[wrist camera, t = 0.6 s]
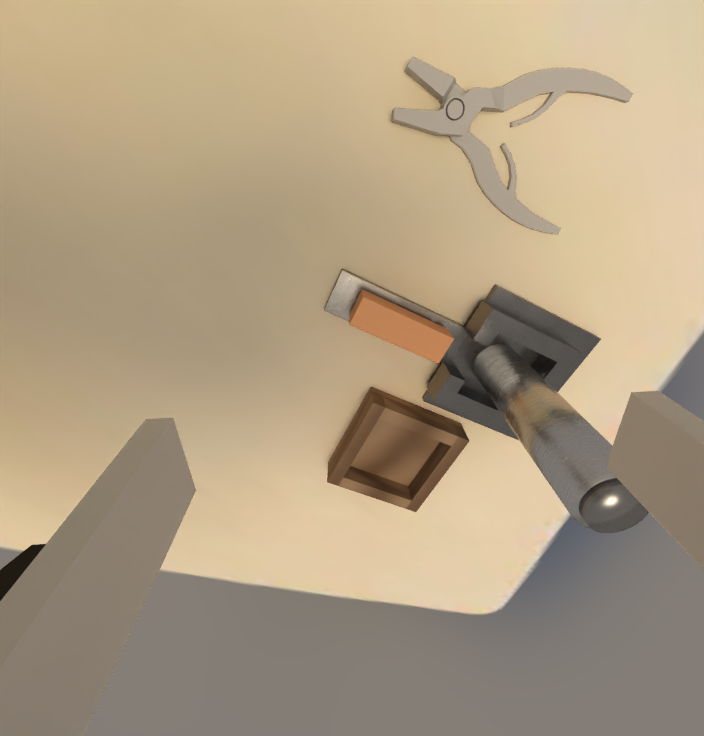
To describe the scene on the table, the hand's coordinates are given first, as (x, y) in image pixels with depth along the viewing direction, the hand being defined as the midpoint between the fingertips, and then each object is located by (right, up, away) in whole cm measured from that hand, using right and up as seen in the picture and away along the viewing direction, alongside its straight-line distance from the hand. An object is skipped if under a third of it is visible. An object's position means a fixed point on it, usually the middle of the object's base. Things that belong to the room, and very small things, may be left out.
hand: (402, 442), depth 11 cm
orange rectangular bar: (+2, +7, +21) cm, 22 cm away
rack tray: (+3, -5, +27) cm, 27 cm away
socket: (+7, +4, +22) cm, 24 cm away
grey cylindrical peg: (+11, +3, +22) cm, 25 cm away
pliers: (+9, +19, +15) cm, 26 cm away
